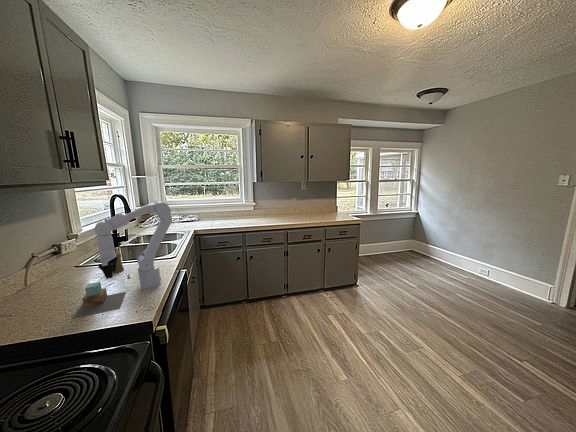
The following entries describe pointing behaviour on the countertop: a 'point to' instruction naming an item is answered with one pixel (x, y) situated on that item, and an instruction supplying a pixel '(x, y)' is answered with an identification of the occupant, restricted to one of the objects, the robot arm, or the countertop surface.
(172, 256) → the countertop surface
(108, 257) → the robot arm
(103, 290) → the walnut block
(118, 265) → the cork
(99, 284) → the teal block
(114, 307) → the mat
